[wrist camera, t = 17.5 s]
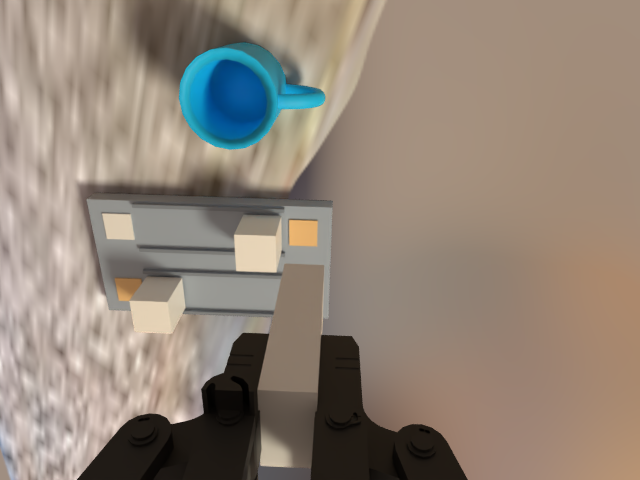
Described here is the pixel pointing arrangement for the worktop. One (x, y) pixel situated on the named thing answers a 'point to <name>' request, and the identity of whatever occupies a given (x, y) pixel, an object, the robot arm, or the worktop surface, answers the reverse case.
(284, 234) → the switch bank
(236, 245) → the tab
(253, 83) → the mug
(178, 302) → the tab
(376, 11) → the worktop surface
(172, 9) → the worktop surface
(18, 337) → the worktop surface
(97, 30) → the worktop surface
